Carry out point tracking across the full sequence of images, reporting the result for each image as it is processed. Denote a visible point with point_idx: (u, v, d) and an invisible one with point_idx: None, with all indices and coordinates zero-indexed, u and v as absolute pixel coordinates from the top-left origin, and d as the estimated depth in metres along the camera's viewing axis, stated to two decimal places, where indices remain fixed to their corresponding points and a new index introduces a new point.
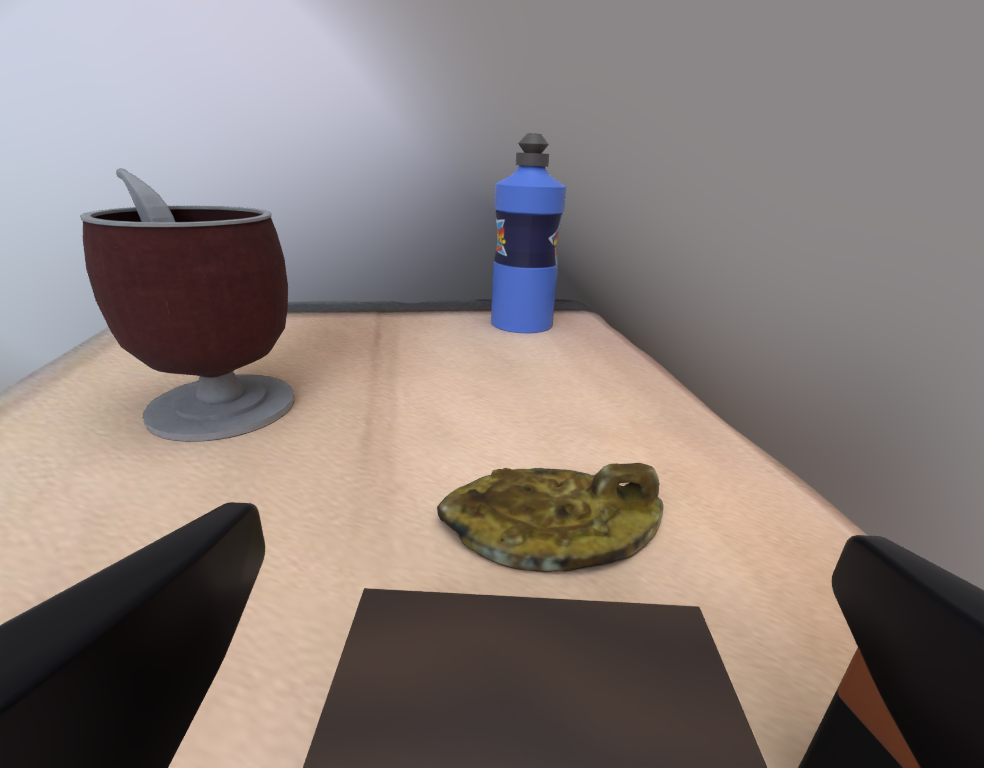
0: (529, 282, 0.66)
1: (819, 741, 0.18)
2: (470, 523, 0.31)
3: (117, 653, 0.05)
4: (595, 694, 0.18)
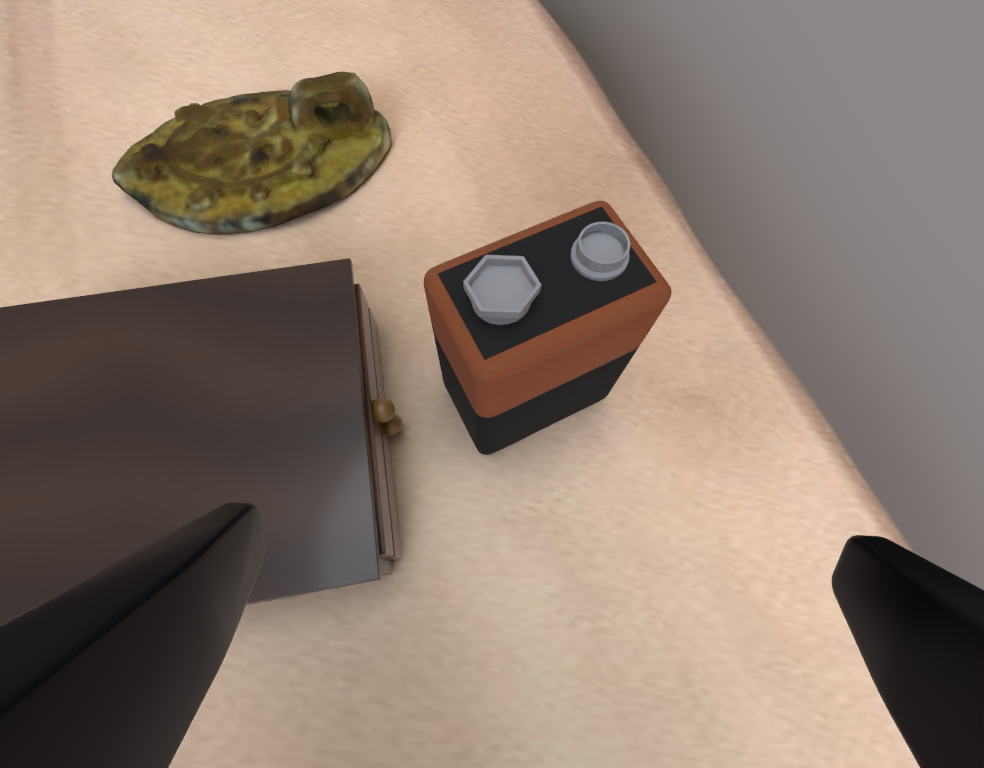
0: None
1: (439, 358, 0.20)
2: (151, 190, 0.26)
3: (117, 653, 0.05)
4: (220, 369, 0.19)
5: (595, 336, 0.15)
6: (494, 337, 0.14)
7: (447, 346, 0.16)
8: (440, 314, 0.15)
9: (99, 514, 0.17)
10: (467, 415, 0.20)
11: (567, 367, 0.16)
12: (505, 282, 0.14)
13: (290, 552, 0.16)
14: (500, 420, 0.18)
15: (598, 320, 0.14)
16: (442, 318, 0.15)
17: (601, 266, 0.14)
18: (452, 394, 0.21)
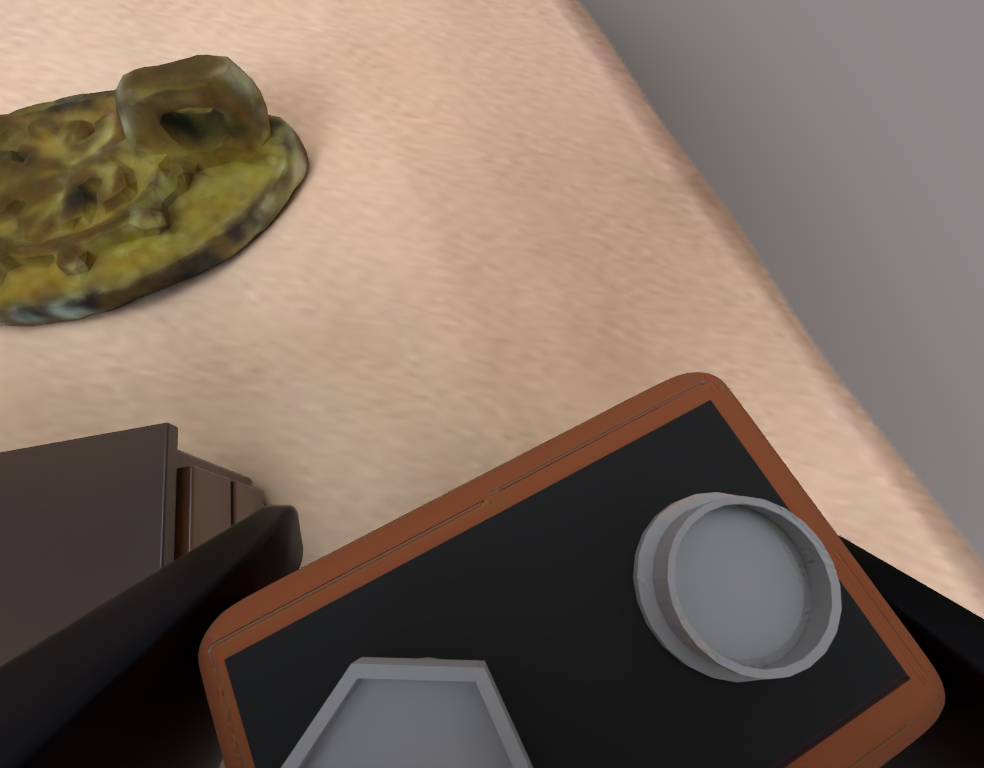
0: None
1: None
2: None
3: (176, 656, 0.05)
4: None
5: None
6: None
7: None
8: None
9: None
10: None
11: None
12: (423, 753, 0.04)
13: None
14: None
15: None
16: None
17: (749, 674, 0.04)
18: None
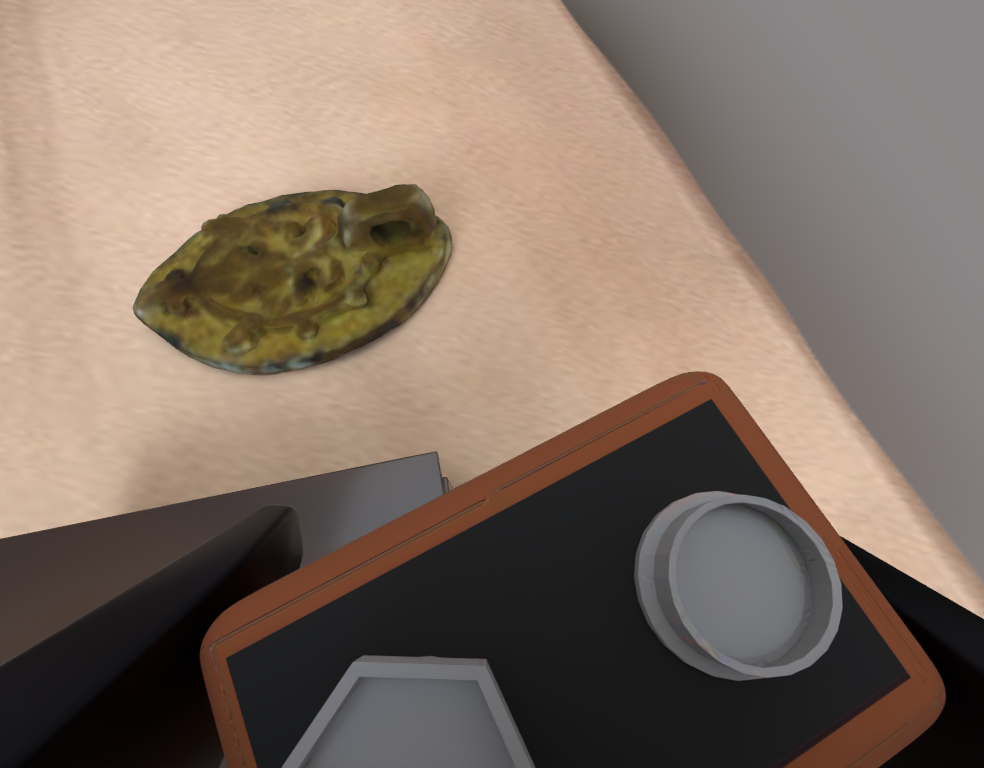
0: None
1: None
2: (181, 329, 0.22)
3: (176, 657, 0.05)
4: None
5: None
6: None
7: None
8: None
9: None
10: None
11: None
12: (425, 751, 0.04)
13: None
14: None
15: None
16: None
17: (750, 672, 0.04)
18: None
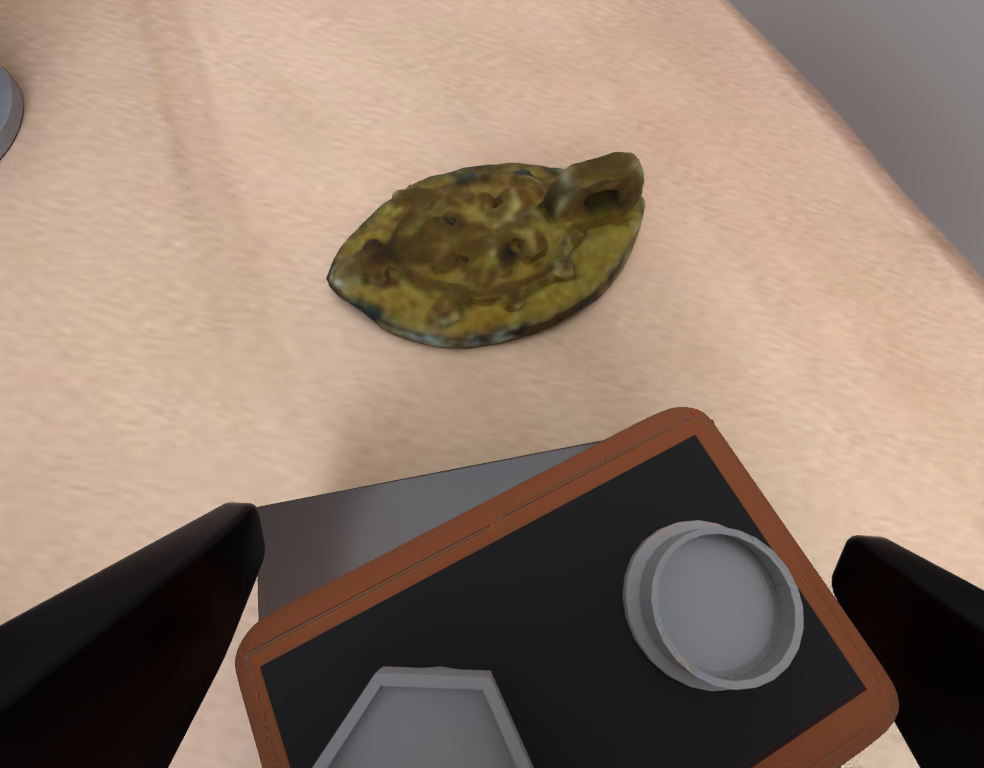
0: None
1: None
2: (381, 299, 0.21)
3: (117, 653, 0.05)
4: None
5: None
6: None
7: None
8: None
9: None
10: None
11: None
12: (437, 750, 0.05)
13: None
14: None
15: None
16: None
17: (721, 684, 0.05)
18: None
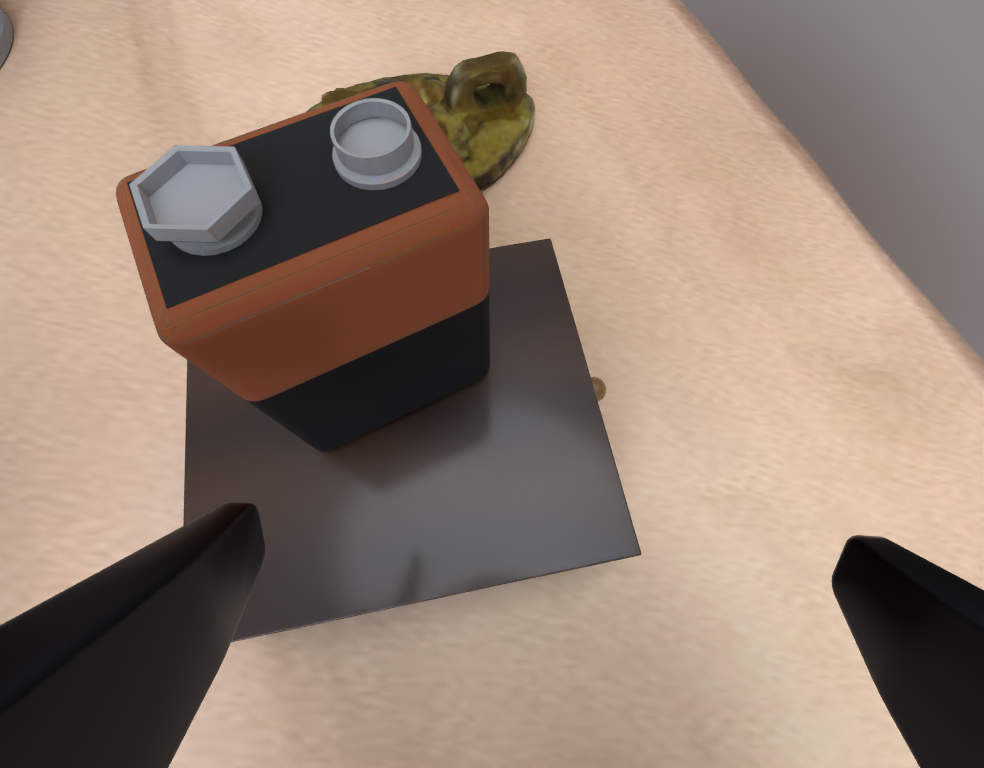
0: None
1: None
2: None
3: (117, 653, 0.05)
4: None
5: (361, 273, 0.10)
6: (190, 274, 0.09)
7: None
8: (130, 244, 0.10)
9: (352, 495, 0.17)
10: None
11: (349, 326, 0.11)
12: (209, 188, 0.09)
13: (548, 530, 0.16)
14: (288, 405, 0.13)
15: (360, 246, 0.09)
16: None
17: (363, 163, 0.09)
18: None
